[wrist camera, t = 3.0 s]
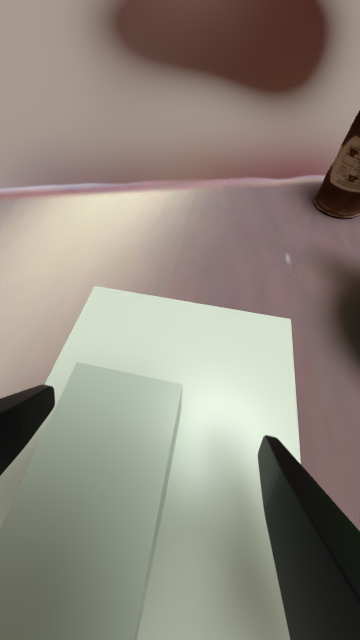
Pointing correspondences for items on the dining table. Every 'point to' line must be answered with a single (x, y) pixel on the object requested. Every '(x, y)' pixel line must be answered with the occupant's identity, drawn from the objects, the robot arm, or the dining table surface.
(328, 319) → the dining table surface
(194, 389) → the lid
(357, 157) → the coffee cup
